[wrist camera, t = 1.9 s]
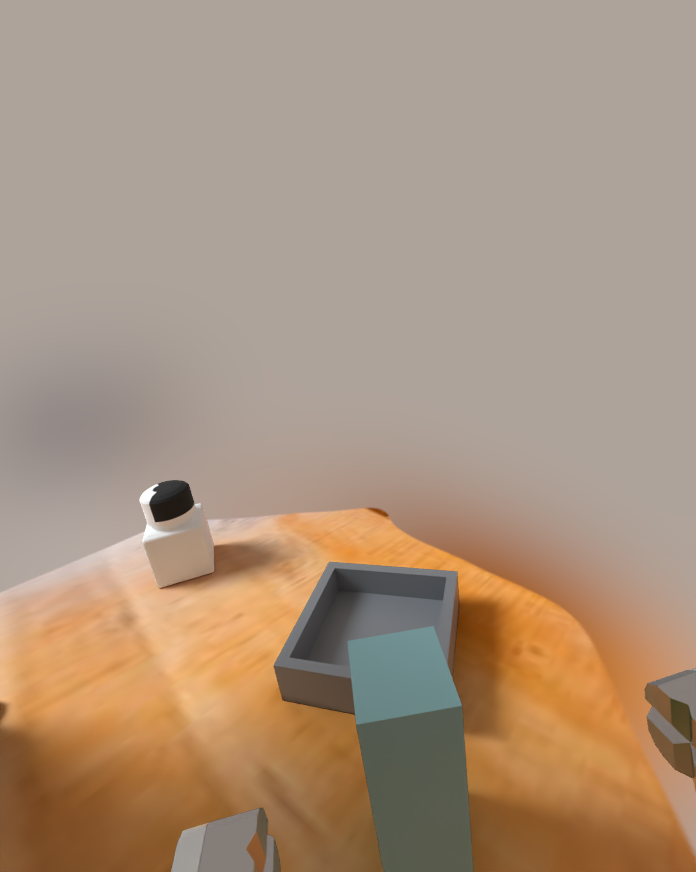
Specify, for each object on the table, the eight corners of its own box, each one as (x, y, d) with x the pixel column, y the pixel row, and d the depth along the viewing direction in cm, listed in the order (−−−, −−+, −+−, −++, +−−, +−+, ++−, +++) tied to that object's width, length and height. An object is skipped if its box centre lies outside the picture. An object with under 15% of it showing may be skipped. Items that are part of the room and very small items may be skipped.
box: (282, 700, 37) (273, 665, 36) (334, 590, 50) (329, 561, 48) (447, 732, 33) (443, 693, 32) (459, 602, 45) (457, 571, 44)
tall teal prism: (388, 898, 25) (356, 724, 20) (375, 800, 29) (347, 641, 25) (474, 882, 25) (462, 705, 20) (448, 787, 29) (433, 626, 25)
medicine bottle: (214, 545, 63) (192, 470, 59) (215, 573, 56) (191, 491, 52) (163, 559, 61) (137, 483, 57) (157, 590, 55) (128, 506, 51)
